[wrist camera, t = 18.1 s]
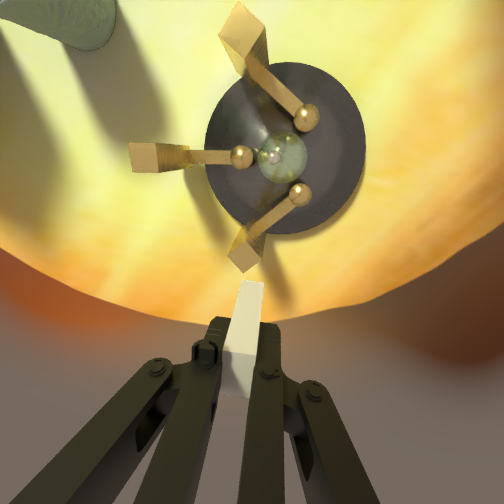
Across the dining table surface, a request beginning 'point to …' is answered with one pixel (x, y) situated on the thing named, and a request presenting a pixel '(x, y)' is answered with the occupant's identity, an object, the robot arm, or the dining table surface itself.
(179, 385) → the robot arm
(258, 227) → the ball-tipped golden bracket
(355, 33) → the dining table surface
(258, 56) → the tan l-shaped bracket
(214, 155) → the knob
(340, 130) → the levelling plate
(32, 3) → the grey cup
